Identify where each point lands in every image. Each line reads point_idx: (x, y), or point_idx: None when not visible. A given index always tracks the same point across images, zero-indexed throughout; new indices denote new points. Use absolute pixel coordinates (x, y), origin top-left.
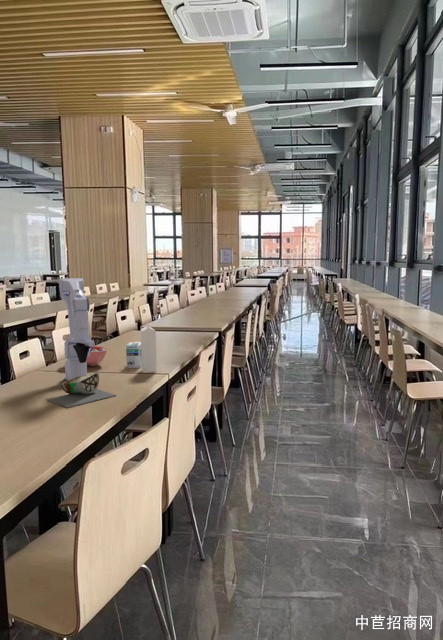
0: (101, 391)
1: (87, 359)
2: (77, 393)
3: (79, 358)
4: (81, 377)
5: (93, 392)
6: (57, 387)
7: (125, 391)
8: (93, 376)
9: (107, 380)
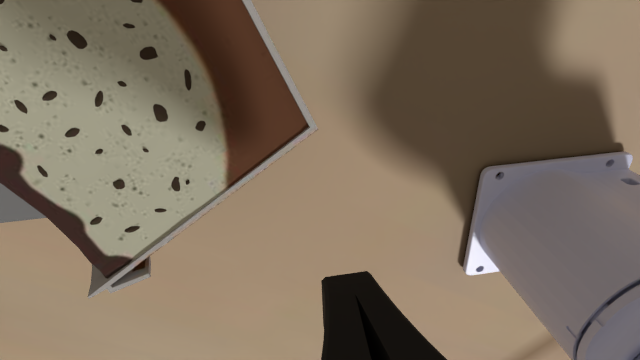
0: None
1: None
2: None
3: (359, 315)
4: (178, 139)
5: None
6: (488, 8)
7: (30, 309)
8: (68, 229)
9: None
